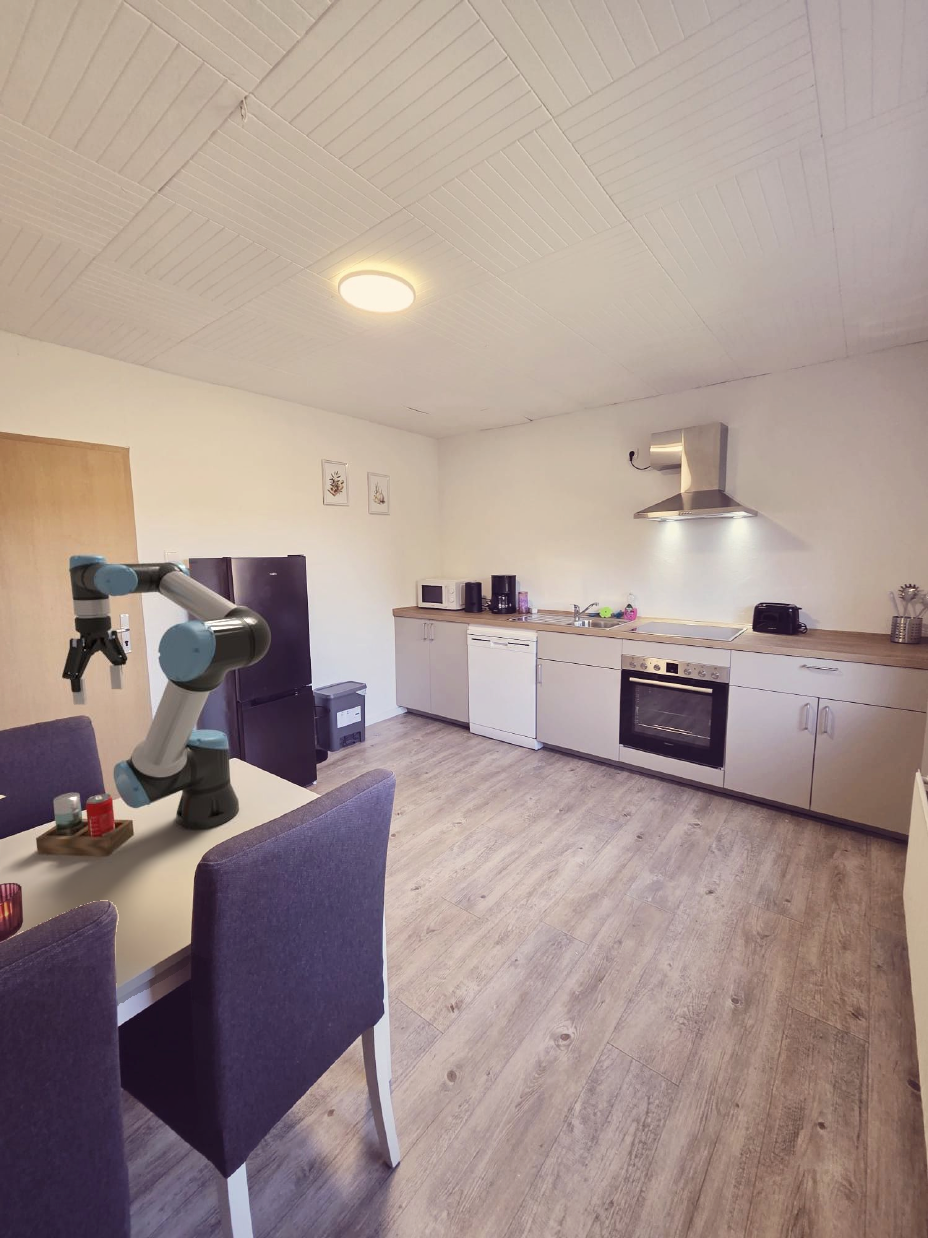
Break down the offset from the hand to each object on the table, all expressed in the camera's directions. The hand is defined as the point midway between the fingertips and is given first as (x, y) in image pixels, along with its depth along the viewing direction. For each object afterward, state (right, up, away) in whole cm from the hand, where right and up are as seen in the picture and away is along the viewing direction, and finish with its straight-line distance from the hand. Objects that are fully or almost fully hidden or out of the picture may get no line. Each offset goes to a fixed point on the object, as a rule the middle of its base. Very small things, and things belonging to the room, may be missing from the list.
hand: (99, 696), depth 133 cm
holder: (+3, -35, -9) cm, 36 cm away
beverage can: (+7, -35, -9) cm, 37 cm away
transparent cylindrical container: (-1, -35, -9) cm, 36 cm away
